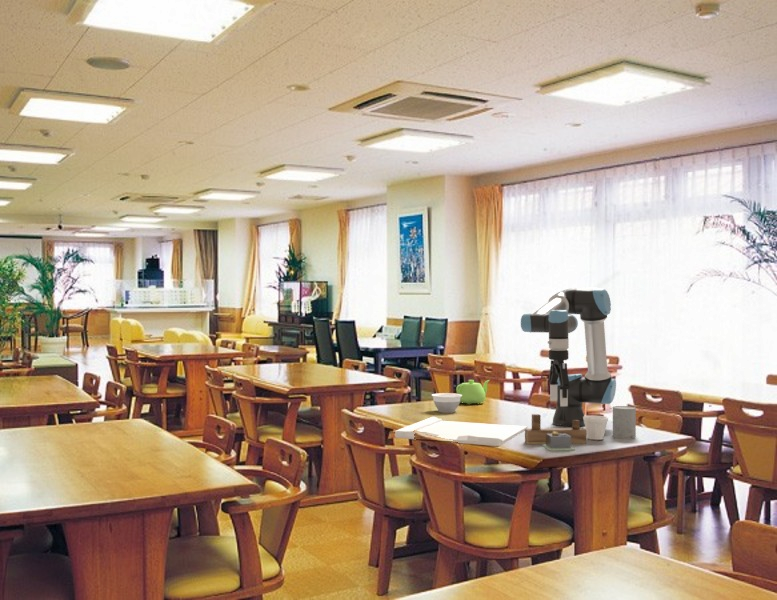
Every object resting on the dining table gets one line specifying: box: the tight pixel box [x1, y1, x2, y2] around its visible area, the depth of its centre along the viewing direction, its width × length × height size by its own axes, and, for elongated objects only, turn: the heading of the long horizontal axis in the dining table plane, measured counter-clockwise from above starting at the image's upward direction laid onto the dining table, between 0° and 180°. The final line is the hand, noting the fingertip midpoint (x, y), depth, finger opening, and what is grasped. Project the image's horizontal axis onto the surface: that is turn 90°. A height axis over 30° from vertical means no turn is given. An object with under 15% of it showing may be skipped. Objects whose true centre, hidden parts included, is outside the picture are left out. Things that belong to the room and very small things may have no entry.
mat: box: [541, 444, 576, 452], centre depth 311 cm, size 10×10×1 cm
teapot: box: [455, 379, 491, 405], centre depth 444 cm, size 22×15×13 cm
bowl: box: [431, 392, 462, 414], centre depth 412 cm, size 16×16×9 cm
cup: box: [583, 414, 609, 441], centre depth 331 cm, size 10×10×9 cm
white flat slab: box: [394, 415, 528, 447], centre depth 345 cm, size 45×45×4 cm
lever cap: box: [546, 431, 572, 448], centre depth 312 cm, size 7×8×6 cm
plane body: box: [524, 413, 587, 445], centre depth 323 cm, size 5×24×12 cm, turn 94°
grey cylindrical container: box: [612, 405, 637, 439], centre depth 338 cm, size 10×10×12 cm
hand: (558, 403), depth 312 cm, fingers open, 13 cm apart
